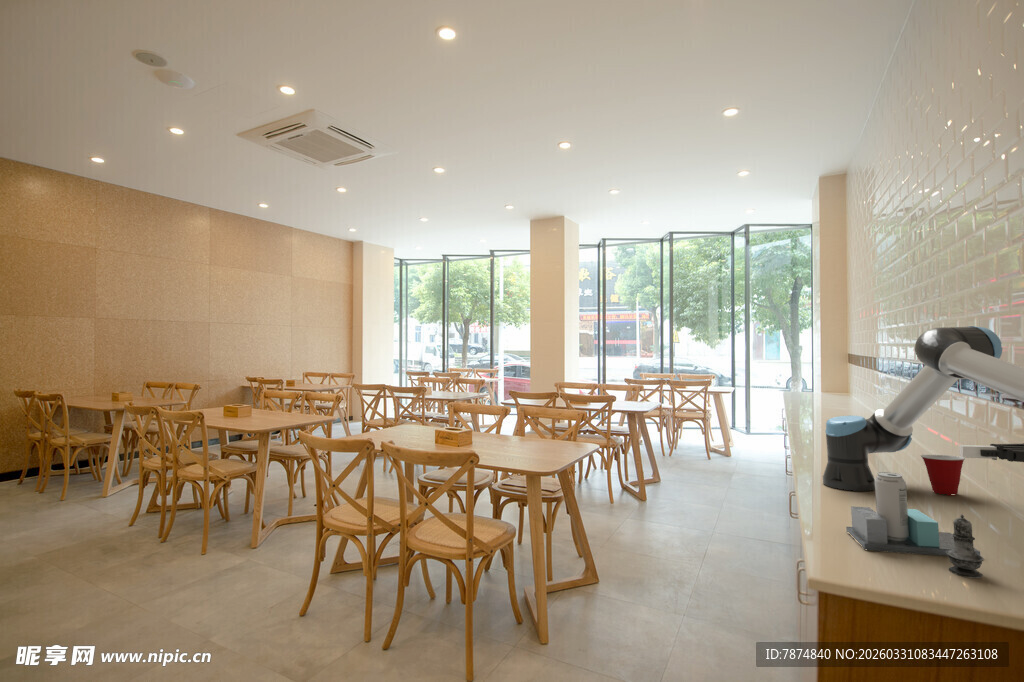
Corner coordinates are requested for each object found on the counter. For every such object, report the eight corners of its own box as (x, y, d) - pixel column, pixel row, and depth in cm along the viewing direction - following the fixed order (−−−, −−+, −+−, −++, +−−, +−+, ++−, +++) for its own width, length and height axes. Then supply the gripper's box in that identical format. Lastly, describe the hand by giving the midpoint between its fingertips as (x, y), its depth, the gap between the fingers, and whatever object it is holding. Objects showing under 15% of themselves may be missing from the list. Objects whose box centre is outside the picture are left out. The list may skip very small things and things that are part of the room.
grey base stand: (846, 532, 127) (845, 505, 128) (950, 538, 121) (948, 509, 121) (864, 550, 116) (863, 520, 116) (980, 558, 110) (978, 526, 110)
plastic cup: (956, 489, 162) (954, 452, 162) (975, 498, 152) (972, 459, 152) (916, 487, 165) (914, 451, 166) (932, 496, 155) (929, 458, 156)
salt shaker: (939, 567, 106) (935, 510, 106) (964, 565, 106) (961, 509, 107) (966, 579, 100) (962, 519, 100) (993, 578, 100) (989, 518, 101)
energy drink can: (881, 530, 124) (878, 470, 124) (911, 537, 119) (908, 474, 120) (874, 537, 120) (871, 474, 120) (906, 543, 115) (902, 478, 116)
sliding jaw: (898, 530, 123) (897, 508, 124) (918, 531, 122) (916, 509, 122) (918, 545, 114) (917, 521, 114) (939, 547, 113) (938, 522, 113)
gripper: (1115, 479, 105) (978, 473, 112) (1067, 464, 118) (947, 460, 125) (1113, 444, 105) (976, 440, 112) (1066, 433, 118) (945, 430, 125)
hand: (961, 451), depth 119 cm, fingers closed
